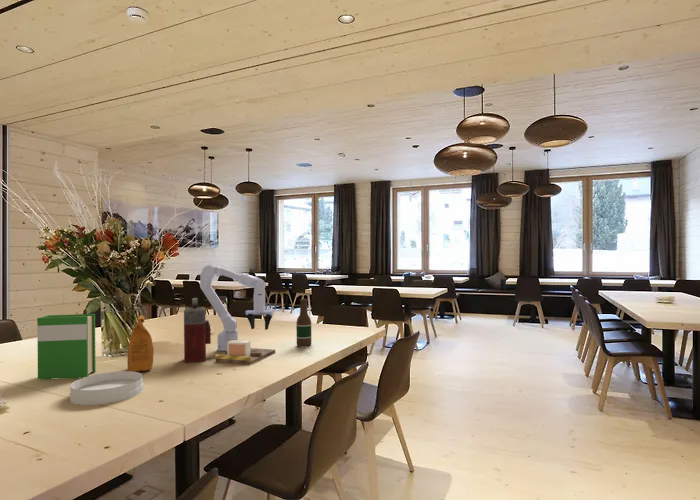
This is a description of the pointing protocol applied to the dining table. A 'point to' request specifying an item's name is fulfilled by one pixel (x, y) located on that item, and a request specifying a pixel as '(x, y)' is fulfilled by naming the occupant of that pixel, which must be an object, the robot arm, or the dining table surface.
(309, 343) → the beer bottle
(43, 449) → the dining table surface
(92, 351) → the hardback book
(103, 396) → the dish
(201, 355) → the dark red canister
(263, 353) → the shelf board
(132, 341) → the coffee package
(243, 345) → the label carton
